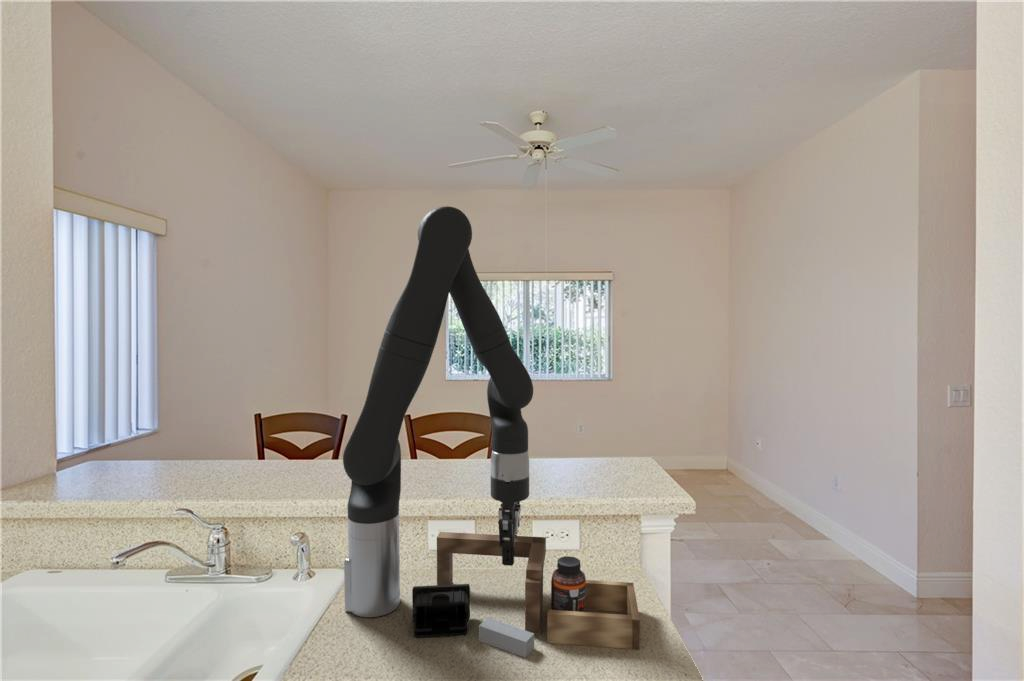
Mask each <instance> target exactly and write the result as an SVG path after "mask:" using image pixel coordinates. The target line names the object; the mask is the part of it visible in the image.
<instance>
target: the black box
mask: <svg viewBox="0 0 1024 681" xmlns="http://www.w3.org/2000/svg"><path fill="white" fill-rule="evenodd" d="M470 586H471V585H470V583H459V584H458V583H457V584H454V583H453V584H452V585H437V584H435V585H417V586H416V585H415V586H412V590H411V591H412V594H411V597H412V603H411V604H412V605H411V606H412V609H411V611H412V626H413V630H414V631H413V637H414V639H417V640H418V639H433V638H435V639H436V638H450V637H454V638H455V637H466V636H467V635H468V632H469V631H468V630H469V629H468V628H469V627H468V623H469V622H470V619H471V587H470Z"/></svg>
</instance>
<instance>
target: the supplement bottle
mask: <svg viewBox="0 0 1024 681" xmlns="http://www.w3.org/2000/svg"><path fill="white" fill-rule="evenodd" d="M581 568H582V567H581V560H580V559H579V558H577V557H575V556H569V555H568V556H567V555H566V556H561V557H559V558H558V559H557V568H556V569H555V570H554V571H552V575H551V579H552V603H551V602H550V610H562V611H577V612H586V609H585V594H586V585H585V584H586V580H587V578H586V575H585V572H583V571H582V570H581ZM551 604H552V606H551Z"/></svg>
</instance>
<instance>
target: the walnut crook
mask: <svg viewBox="0 0 1024 681" xmlns="http://www.w3.org/2000/svg"><path fill="white" fill-rule="evenodd" d="M504 540H510V538H504ZM499 542H500V541H499V534H487V533H486V534H485V533H469V532H452V531H451V532H450V531H439V533H438V535H437V536H436V585H454V581H453V578H454V575H453V574H454V573H453V572H454V571H453V570H454V568H453V567H454V566H453V562H454V561H453V560H454V559H453V557H454V556H453V555H454V554H456V555H457V554H459V555H472V556H473V555H476V556H477V555H478V556H491V557H492V556H493V557H502V547H500V545H499ZM546 550H547V538H546V536H545V537H544V536H526V535H525V536H523V535H517V536H515V545H514V558H525V559H526V558H527V559H528V560H527V563H526V568H525V580H524V583H525V585H524V587H525V588H524V594H525V595H524V596H525V597H524V630H525V631H528V632H531V633H534V635H540V634H541V628H542V627H541V626H542V620H543V613H544V567H545V561H546V553H547V551H546Z"/></svg>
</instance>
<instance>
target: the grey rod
mask: <svg viewBox="0 0 1024 681" xmlns="http://www.w3.org/2000/svg"><path fill="white" fill-rule="evenodd" d="M478 641H480V642H483V643H486V644H488V645H491V646H493V647H497V648H499V649H501V650H504V651H506V652H509V653H513V654H514V655H517V656H521V657H523V658H527V657H528V656H529V655H530V653H531V652H533V650H534V649H535V634H534V633H531V632H528V631H525V629H522V628H519V627H516V626H514V625H510V624H507V623H505V622H502V621H500V620H496V619H493V618H490V617H487V618H486V619H485V620H483V621H482V622H481V623H480V624H479V625H478Z"/></svg>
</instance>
